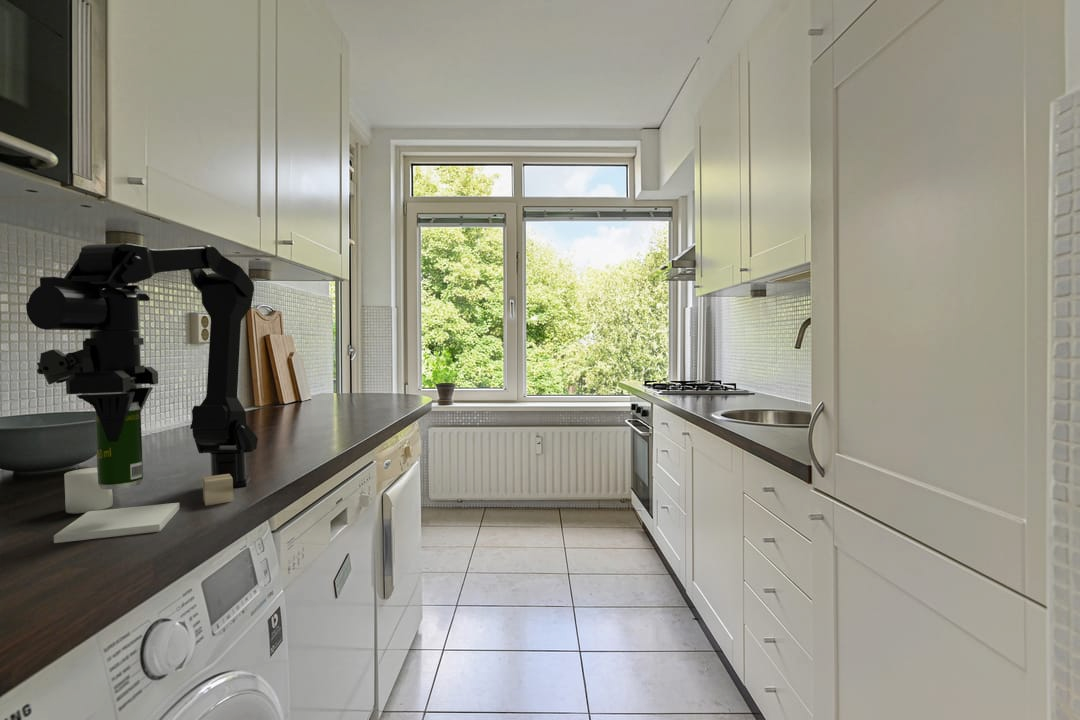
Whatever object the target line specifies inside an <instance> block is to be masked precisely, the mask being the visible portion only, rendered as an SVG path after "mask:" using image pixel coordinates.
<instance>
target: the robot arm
mask: <svg viewBox="0 0 1080 720" xmlns="http://www.w3.org/2000/svg"><path fill="white" fill-rule="evenodd" d="M206 269H208V270H209V269H211V271H212V272H211V273H206V272H205V271H204V270H206ZM185 270H186V271H187V270H188V272H189V275H190V281H191V284H192V285H193V286H194V287H195V288H196V290H198V291H199V293H200V294H201V304H202V306H203V308H204V310H205V311H206V312H207V314H208V316H209V318H210V326H209V329H210V330H209V343H208V344H209V345H208V346H209V347H208V359H207V360H208V361H207V365H208V366H207V378H206V393H205V397H204V399H203V400H202V402H201V403H200V404H199V405H194V406H193V407H192V409H191V417H192V418H191V424H190V427H189V429H190V430H192V438H193V440H194V442H195V445H196V448H197V453H198V454H210V455H209V456H210V476H216V475H223V474H230V475H231V476H232V478H233V488H234V487H235V488H236V487H244V486H245V487H246V486H247V485H248V484H249V482H250V480H251V475H247V467H246V466H247V465H246V464H247V463H246V453H252V452H254V451H255V450H257V447H258V446H257V445H258V441H259V438H258V437H257V435H256V434H255V433H254V431H253V430H252V429H251V427H250V426H249V425H248V424H247V413H246V410H245V408H244V406H243V404H242V403H241V402H240V400H239V398H238V387H239V386H238V385H239V368H240V363H239V362H240V349H241V347H240V346H241V345H240V344H241V329H242V321H243V319H244V318H245V316H246V315H247V314H248V312H249V311H250V310H251V308H252V303H253V297H254V293H255V285H254V282H253V280H252V278H250V277H249V275H248V274H247V272H246V271H245V270H244V269H243V268H242V267H241V266H240V265H238V264H236V263H235V262H233V261H231V260H230V259H228V258H226V257H225V256H224V255H222V253H220V251H219V250H218V249H217V248H216V247H214V246H211V245H208V244H206V245H203V244H201V245H187V246H186V247H175V248H174V247H173V248H171V247H170V248H149V247H148V246H146V245H142V244H136V243H130V242H120V243H119V242H117V243H104V244H103V243H98V244H97V243H96V244H87V245H84V246H82V247H81V251H80V252H79V255H78V258H77V259H76V261H75V262H74V264H73V265H72V266H71V267H70V269H69V270H68V271H67V273H66V274H65V276H64V277H61V276H60V277H59V276H41V277H40V278H39V285H40V286H38V287H36V288H35V289H34V290H33V291H32V292H31V294H30V296H29V298H28V301H27V302H26V305H25V309H26V314H27V317H28V319H29V320H30V322H31V324H33V325H34V326H35V327H37V328H39V329H41V330H45V331H89V332H90V333H89V334H90V335H89V336H90V338H88V337H85V338H84V340H83V341H82V349H80V350H77V351H72V352H67V353H66V354H65V353H63V352H62V351H61V350H59V349H49V350H47V351H44V352H41V353H40V355H39V356H40V357H39V362H37V363H36V365H37V367H38V368H37V369H36V370H37V371H36V373H38V374H39V375H43V376H44V378H45V380H46V383H47V384H48V385H49V386H50V385H53V384H54V383H55V384H62V383H65V391H66V395H76V397H77V398H78V399H79V400H83V401H84V402H86V403H88V404H89V405H91V406H92V407H93V409H94V412H95V411H96V413H97V415H98V418H99V420H100V423H101V425H102V428H103V430H104V433H105V435H106V438H107V440H108V442H116V441H118V439H119V437H120V434H121V431H122V429H123V426H124V423H125V420H126V417H127V414H128V411H129V408H130V405H131V403H132V402H138V405H139V407H140V409H141V412H142V411H143V409H144V406H145V404H146V402H147V400H148V399H149V397H150V395H151V392H152V391H153V389H154V387H153V386H150V385H158V384H159V372H158V371H157V370H156V369H154V367H152V366H146V365H144V364H142V365H141V347H140V346H143V345H145V343H144V337H140V322H139V321H140V320H139V319H140V317H139V302H149V301H150V300H151V299H150V296H149V295H148V294H147V293H146V292H144V291H143V290H141V288H140V287H139V285H137V283H140V282H142V281H146V280H149V279H150V278H151V279H152V278H153V276H154V275H156V274H159V273H165V272H176V271H177V272H178V271H185ZM143 385H149V386H148V387H143Z"/></svg>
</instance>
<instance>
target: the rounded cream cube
mask: <svg viewBox="0 0 1080 720" xmlns="http://www.w3.org/2000/svg"><path fill="white" fill-rule="evenodd" d="M63 475H64V476H63V477H64V497H65V499H64V500H65V503H64V504H65V512H66V513H67V514H83V513H84V514H85V513H87V512H88V511H98V510H107V509H108V508H111V507H112V506H113V505H114V501H113V498H114V497H113V489H110V490H106V489H101V488H100V486H99V484H98V474H97V466H96V467H88V468H87V467H86V468H80V469H75V470H71V471H67V472H65V473H64V474H63Z"/></svg>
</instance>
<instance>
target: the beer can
mask: <svg viewBox="0 0 1080 720" xmlns="http://www.w3.org/2000/svg"><path fill="white" fill-rule="evenodd" d="M141 413H142V411H141V409H140V407H139V405H138V402H132V403H131V405H130V408H129V411H128V414H127V417H126V420H125V423H124V426H123V429H122V431H121V434H120V437H119V439H118V441H116V442H108V440H107V438H106V435H105V433H104V430H103V428H102V425H101V423H100V420H99V418H98V415H97V413H96V411H95V410H94V424H95V425H94V426H95V445H96V446H95V447H96V467H97V474H98V484H99V486H100V488H101V489H106V490H110V489H112V490H119V489H127V488H132V487H135V486H138V485H141V483H142V481H143V479H144V465H143V463H144V461H143V459H144V458H143V441H142V440H143V439H142V438H143V434H142V414H141Z"/></svg>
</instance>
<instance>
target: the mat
mask: <svg viewBox="0 0 1080 720" xmlns="http://www.w3.org/2000/svg"><path fill="white" fill-rule="evenodd" d="M180 506H181V505H180V502H172V503H170V502H169V503H161V504H152V505H151V504H150V505H140V506H132V507H131V506H129V507H120V508H110V509H102V510H98V511H88V512H86V513H84V514H82V515H81V516H79V518H77V519H75V520H74V521H73V522H71V523H70V524H68V525H67V526H65V527H64V528H62V529H61V530H60V531H58V532H56V534H54V535H53V544H58V543H59V544H60V543H68V542H75V541H76V542H77V541H86V540H93V539H104V538H111V537H123V536H131V535H139V534H147V533H149V534H150V533H155V532H156V533H158V532H161V531H162V530H163V528H165V526H166V525H167V524H168V523H169V521H170V520H171V519H172V518H173V517H174V516H175V514H176V513H177V512H178V511H179V510H180Z"/></svg>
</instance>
